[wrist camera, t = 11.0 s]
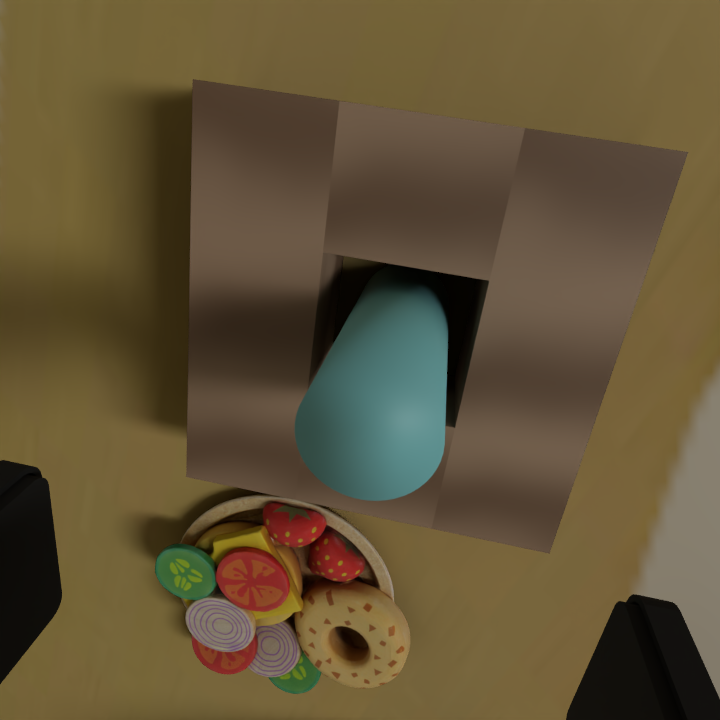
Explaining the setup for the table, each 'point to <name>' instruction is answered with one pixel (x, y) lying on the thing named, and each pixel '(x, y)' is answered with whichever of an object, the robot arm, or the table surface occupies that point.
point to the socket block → (423, 251)
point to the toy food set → (286, 595)
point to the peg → (381, 391)
